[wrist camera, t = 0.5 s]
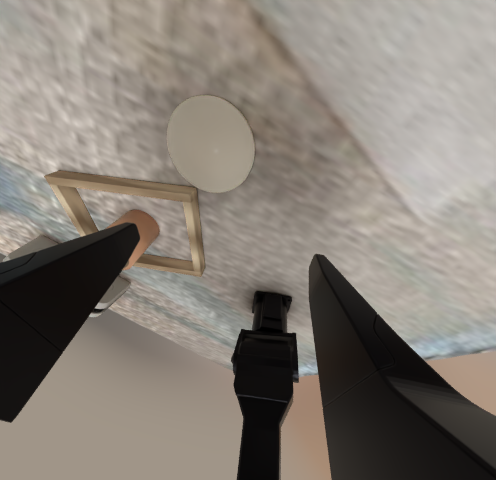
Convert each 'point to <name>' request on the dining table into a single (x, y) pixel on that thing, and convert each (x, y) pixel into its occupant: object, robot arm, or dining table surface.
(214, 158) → the cream saucer
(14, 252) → the light grey slab casing
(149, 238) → the terracotta pot
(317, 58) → the dining table surface
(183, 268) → the wooden frame
